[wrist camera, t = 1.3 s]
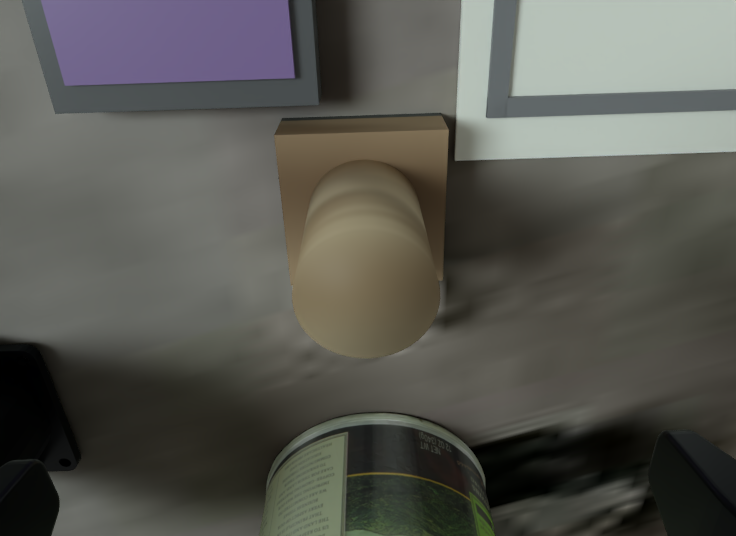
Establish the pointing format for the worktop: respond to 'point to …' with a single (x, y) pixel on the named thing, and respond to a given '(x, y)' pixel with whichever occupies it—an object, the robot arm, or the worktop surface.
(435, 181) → the stamp
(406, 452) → the coffee can
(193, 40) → the ink pad
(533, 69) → the sheet
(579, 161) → the worktop surface
